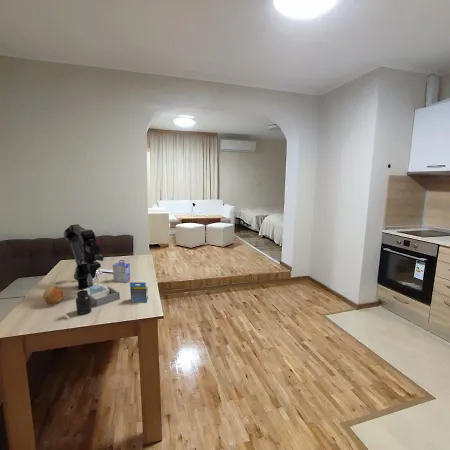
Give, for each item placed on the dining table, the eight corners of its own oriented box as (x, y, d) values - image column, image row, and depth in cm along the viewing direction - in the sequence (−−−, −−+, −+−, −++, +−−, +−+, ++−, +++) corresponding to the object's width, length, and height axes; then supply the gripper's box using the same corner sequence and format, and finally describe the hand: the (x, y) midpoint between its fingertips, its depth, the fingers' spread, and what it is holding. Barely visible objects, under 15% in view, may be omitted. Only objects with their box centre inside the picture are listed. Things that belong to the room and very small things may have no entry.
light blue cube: (90, 295, 165) (89, 287, 164) (98, 292, 168) (98, 284, 167) (93, 297, 161) (93, 289, 161) (102, 294, 165) (101, 286, 164)
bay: (86, 301, 158) (85, 293, 158) (109, 294, 168) (109, 286, 167) (95, 308, 150) (95, 300, 149) (119, 300, 160) (119, 292, 159)
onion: (40, 308, 150) (38, 290, 148) (48, 300, 160) (46, 283, 158) (60, 306, 152) (58, 289, 150) (67, 299, 161) (65, 282, 160)
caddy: (80, 294, 167) (79, 275, 165) (99, 289, 175) (98, 271, 173) (90, 301, 157) (89, 282, 155) (110, 295, 165) (108, 277, 163)
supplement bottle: (80, 310, 148) (78, 289, 146) (93, 310, 148) (92, 288, 146) (74, 317, 141) (72, 294, 139) (88, 316, 142) (86, 294, 140)
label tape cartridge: (148, 300, 161) (147, 279, 159) (146, 303, 157) (145, 282, 155) (132, 300, 161) (131, 279, 158) (130, 303, 157) (129, 282, 155)
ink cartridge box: (131, 280, 190) (129, 259, 188) (126, 283, 185) (125, 262, 182) (117, 279, 192) (116, 259, 190) (113, 282, 187) (111, 261, 184)
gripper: (108, 251, 165) (110, 276, 168) (95, 246, 177) (97, 269, 180) (89, 255, 157) (91, 281, 160) (76, 249, 169) (78, 273, 172)
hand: (90, 276), depth 168 cm, fingers open, 9 cm apart
